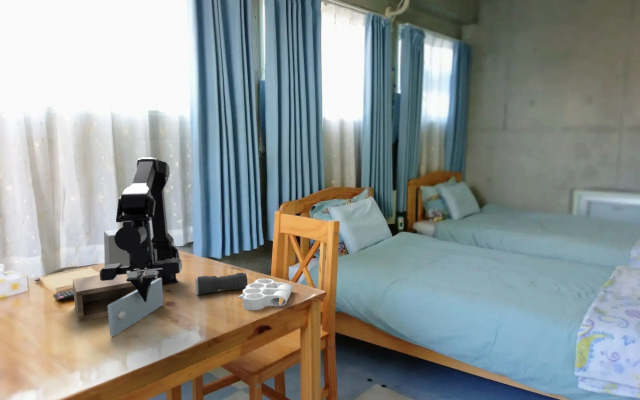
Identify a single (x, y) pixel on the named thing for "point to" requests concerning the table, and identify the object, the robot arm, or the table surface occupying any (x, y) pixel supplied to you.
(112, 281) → the cubby
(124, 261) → the skincare box
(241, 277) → the flashlight
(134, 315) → the door
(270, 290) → the white multi-hole tray
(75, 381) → the table surface
